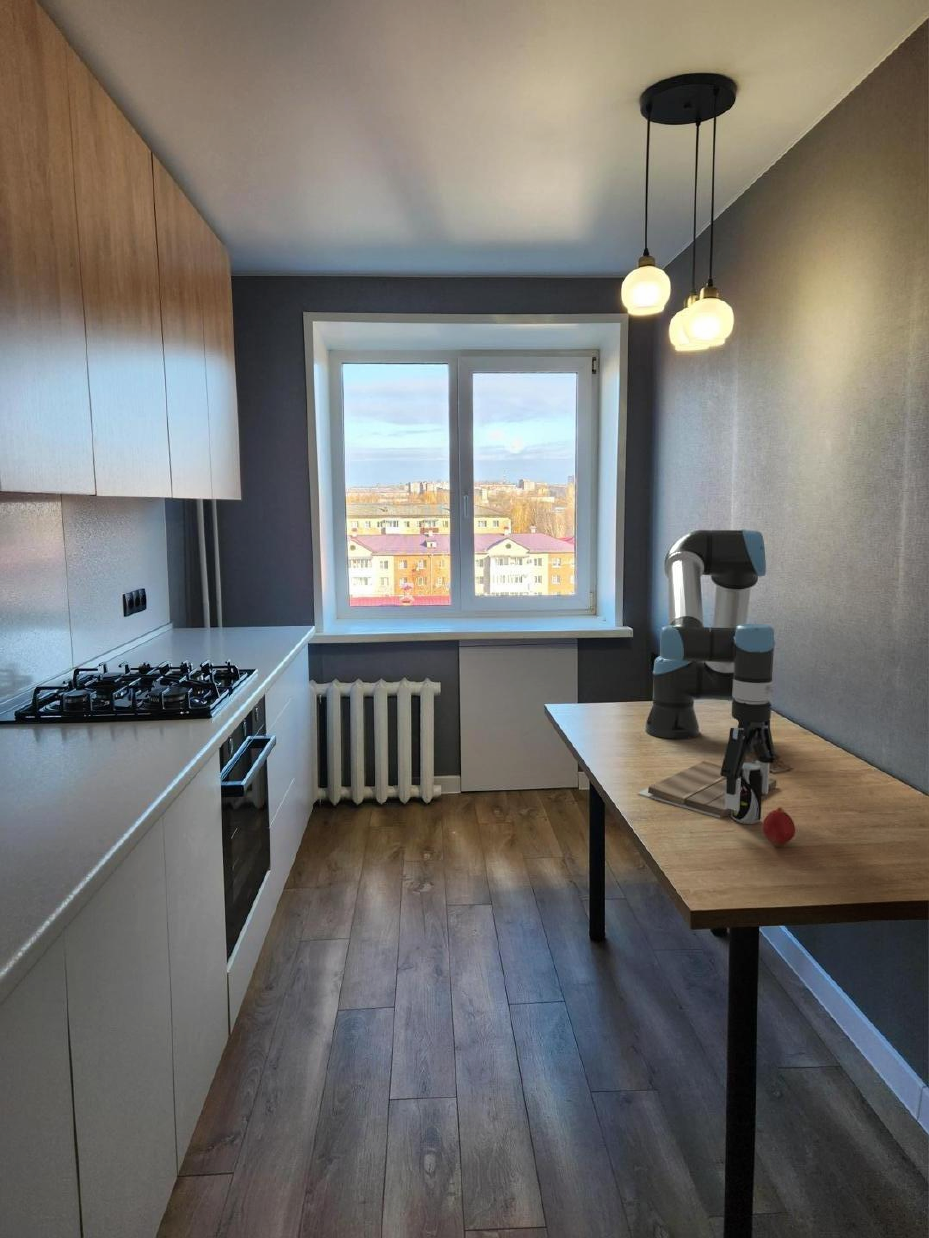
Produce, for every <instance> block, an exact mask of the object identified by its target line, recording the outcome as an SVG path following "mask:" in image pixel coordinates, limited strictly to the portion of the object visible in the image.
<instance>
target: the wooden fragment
mask: <svg viewBox="0 0 929 1238" xmlns="http://www.w3.org/2000/svg"><path fill="white" fill-rule="evenodd" d="M768 751H769V750H768ZM780 757H781V756H780V755H779V754H777V753H775V757H774V758H775V761H774V763H769V772H772V773H773V774H774V775H775V774H783V773H786V772H789V771H791V770H793V767H792V766H789V765H788V764H786V763H784V761H782V760H779V758H780ZM756 761H760V760H758V758H757V756H756V754H755V751H754V749H753V746H752V749H751V750H750V751H748V753H747V755H746V758H745V761H744V762H751V763H756Z"/></svg>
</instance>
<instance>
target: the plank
mask: <svg viewBox="0 0 929 1238" xmlns="http://www.w3.org/2000/svg"><path fill="white" fill-rule="evenodd" d="M721 769H722V765H719V764H716V763H712V762H708V761H705V760H702V761H701V762H698V763H697V764H695V765H692V766H691V767H687V768H686V769H684V770H681V771H680V772H678V773H676V774H673V775H671V776H669V777H667V778H665V779H662V780H661V781H658V782H655V784H654V783H653V784H651V785H649V786H648V787H647V788H648V793H650V794H653V795H656V796H659V797H662V798H665V799H668V800H671V801H673V802H676V803H679V804H682V805H685V804H686V799H687V798H689V797H691V796H693V795H695V794H697V793H699V792H701V791H703V790H705V789H706V788H708V787H710V786H712V785H714V784H716V783H718V782H720V781H722V780H724V779H726V777H723V776H721V775H720V773H721Z"/></svg>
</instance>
